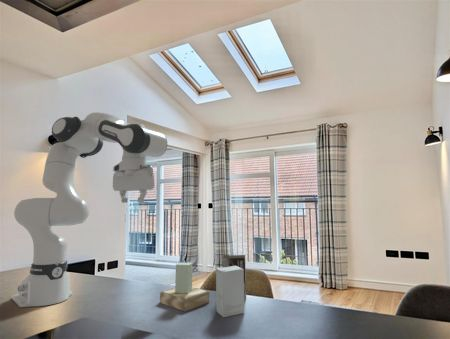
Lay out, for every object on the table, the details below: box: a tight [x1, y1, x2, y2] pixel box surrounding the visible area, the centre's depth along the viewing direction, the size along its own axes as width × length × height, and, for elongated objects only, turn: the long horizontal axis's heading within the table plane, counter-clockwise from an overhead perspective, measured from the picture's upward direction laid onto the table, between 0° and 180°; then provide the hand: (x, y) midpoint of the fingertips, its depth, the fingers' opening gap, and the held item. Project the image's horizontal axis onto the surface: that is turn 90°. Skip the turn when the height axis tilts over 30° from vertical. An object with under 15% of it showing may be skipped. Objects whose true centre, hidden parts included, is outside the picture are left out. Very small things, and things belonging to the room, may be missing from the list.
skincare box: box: [215, 266, 245, 318], centre depth 100 cm, size 8×6×15 cm
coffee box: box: [221, 254, 247, 302], centre depth 116 cm, size 9×6×16 cm
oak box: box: [159, 286, 210, 312], centre depth 111 cm, size 14×12×4 cm
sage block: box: [174, 261, 194, 294], centre depth 111 cm, size 5×5×10 cm
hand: (132, 202), depth 112 cm, fingers open, 8 cm apart
